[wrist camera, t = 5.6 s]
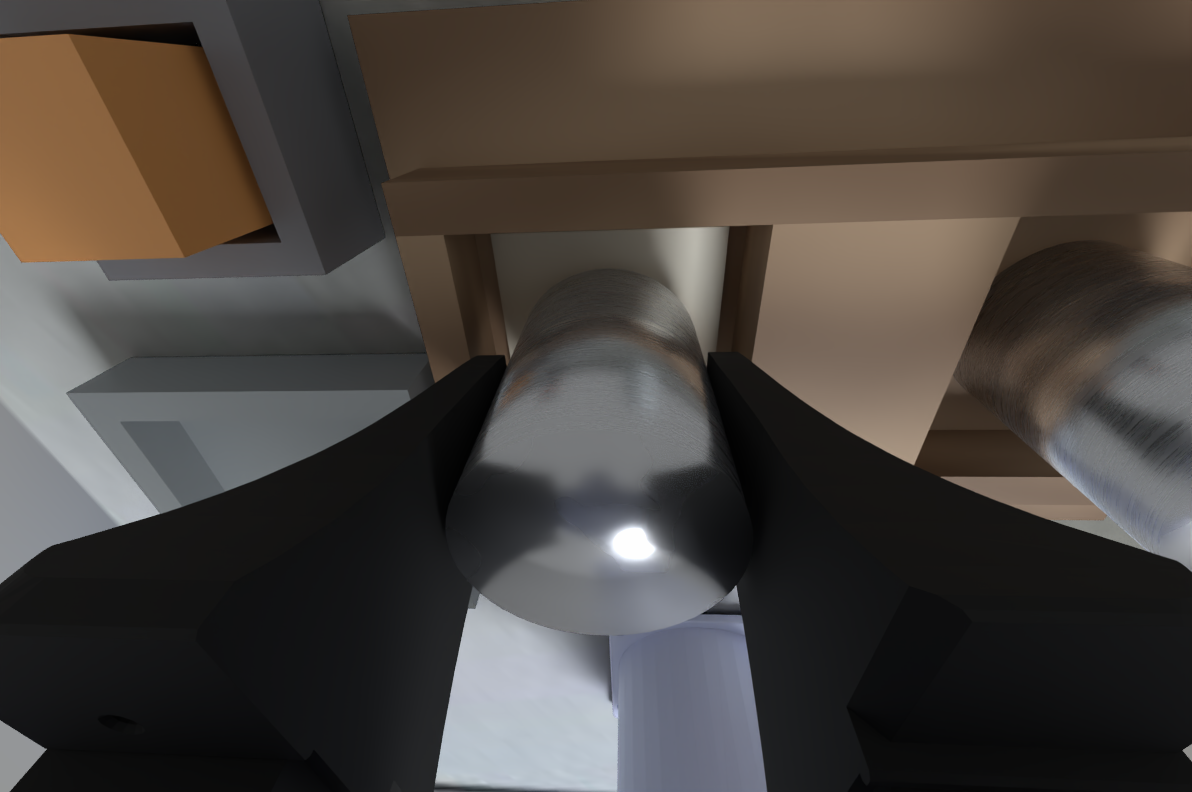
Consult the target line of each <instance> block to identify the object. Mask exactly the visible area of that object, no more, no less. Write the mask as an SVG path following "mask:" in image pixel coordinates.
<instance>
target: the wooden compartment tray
mask: <svg viewBox="0 0 1192 792" xmlns="http://www.w3.org/2000/svg"><path fill="white" fill-rule="evenodd" d="M347 17H348V20H349V24H350V28H351V32H352V36H353V40H354V44H355V47H356V51H357V55H358V59H359V63H360V67H361V71H362V74H363V78H364V82H365V86H366V90H367V94H368V98H369V101H370V105H371V109H372V113H373V117H374V121H375V125H376V128H377V132H378V136H379V140H380V144H381V148H382V152H383V155H384V159H385V163H386V167H387V171H388V175H389V178H390V180H388V181H385V182H383V183H381V185H382V189H383V192H384V196H385V200H386V203H387V207H388V211H389V215H390V218H391V222H392V226H393V229H394V233H395V237H396V241H397V244H398V248H399V252H400V255H401V259H402V263H403V266H404V270H405V274H406V278H407V281H408V285H409V289H410V292H411V296H412V300H413V304H414V307H415V311H416V315H417V318H418V322H419V326H420V330H421V333H422V337H423V341H424V344H425V348H426V352H427V355H428V359H429V363H430V367H431V370H432V374H433V378H434V381H435V383H436V382H437V381H439V380H440V379H442V378H443V377H445V376H446V375H448V374H449V373H450V372H452V371H453V370H455V369H456V368H458V367H459V366H461V365H462V364H464V363H465V362H467V361H468V360H470V359H471V358H473V357H475V356H477V355H505V359H506V365H507V366H508V363H509V361H510V359H511V356H512V354H513V351H514V349H515V347H516V344H517V342H518V340H519V337H520V335H521V333H522V330H523V328H524V325H525V323H526V321H527V318H528V316H529V314H530V312H531V310H532V309H533V307H534V306H535V304H536V303H537V301H538V300H539V299H540V298H541V297H542V296H543V294H545V293H546V292H547V291H548V290H549V289H550V288H551V287H553V286H554V285H556V284H557V283H559V282H560V281H562V280H564V279H566V278H568V277H570V276H572V275H575V274H578V273H581V272H584V271H589V270H594V269H606V268H612V269H623V270H628V271H633V272H637V273H640V274H643V275H645V276H648V277H650V278H652V279H654V280H656V281H658V282H659V283H661V284H662V285H664V286H665V287H667V288H668V289H669V290H670V291H671V292H672V293H673V294H675V295H676V296H677V298H678V299H679V300H680V301H681V302H682V304H683V305H684V306H685V308H686V310H687V311H688V313H689V314H690V317H691V319H692V321H693V324H694V327H695V330H696V334H697V337H698V340H699V344H700V347H701V351H702V354H703V358H704V361H705V364H706V368H707V358H708V352H739V353H740V354H742V355H743V356H745V357H746V358H747V359H749V360H750V361H751V362H753V363H754V364H755V365H756V366H758V367H759V368H760V369H762V370H763V371H764V372H765V373H767V374H768V375H769V376H770V377H772V378H773V379H774V380H776V381H777V382H778V383H779V384H781V385H782V386H783V387H785V388H786V389H787V390H789V391H790V392H791V393H793V394H794V395H795V396H797V397H798V398H800V399H801V400H802V401H804V402H805V403H807V404H808V405H810V406H811V407H812V408H814V409H815V410H817V411H818V412H820V413H822V414H823V415H825V416H826V417H828V418H829V419H831V420H832V421H834V422H835V423H837V424H838V425H840V426H842V427H843V428H845V429H847V430H848V431H850V432H852V433H853V434H855V435H857V436H859V437H861V438H862V439H864V440H866V441H868V442H870V443H872V444H873V445H875V446H877V447H879V448H881V449H883V450H884V451H886V452H888V453H890V454H892V455H894V456H896V457H898V458H900V459H902V460H904V461H906V462H908V463H910V464H912V465H914V466H917V467H919V468H921V469H923V470H926V471H928V472H930V473H932V474H934V475H937V476H939V477H941V478H943V479H946V480H948V481H950V482H952V483H954V484H957V485H959V486H962V487H964V488H967V489H969V490H971V491H974V492H976V493H979V494H981V495H984V496H986V497H989V498H991V499H994V500H996V501H999V502H1002V503H1005V504H1007V505H1010V506H1013V507H1015V508H1018V509H1021V510H1023V511H1026V512H1029V513H1031V514H1034V515H1037V516H1040V517H1042V518H1045V519H1048V520H1104V519H1105V517H1106V516H1107V515H1106V514H1105V513H1104V512H1103V511H1102V510H1100V509H1099V508H1098V507H1097V506H1096V505H1095V504H1094V503H1093V502H1091V501H1090V500H1089V499H1088V498H1087V497H1086V496H1085V495H1084V494H1082V493H1081V492H1080V491H1079V490H1078V489H1077V488H1076V487H1075V486H1073V485H1072V484H1071V483H1070V482H1069V481H1068V480H1067V479H1066V478H1064V477H1063V476H1062V475H1061V474H1060V473H1059V472H1058V471H1056V470H1055V469H1054V468H1053V467H1052V466H1051V465H1050V464H1049V463H1047V462H1046V461H1045V460H1044V459H1043V458H1042V457H1041V456H1040V455H1038V454H1037V453H1036V452H1035V451H1034V450H1033V449H1032V448H1031V447H1029V446H1028V445H1027V444H1026V443H1025V442H1024V441H1023V440H1022V439H1020V438H1019V437H1018V436H1017V435H1016V434H1015V433H1014V432H1012V431H1011V430H1010V429H1009V428H1008V427H1007V426H1006V425H1005V424H1003V423H1002V422H1001V421H1000V420H999V419H998V418H997V417H996V416H994V415H993V414H992V413H991V412H990V411H989V410H988V409H987V408H985V407H984V406H983V405H982V404H981V403H980V402H979V401H977V400H976V399H975V398H974V397H973V396H972V395H971V394H970V393H968V392H967V391H966V390H965V389H964V388H963V387H962V386H961V385H960V384H959V383H958V382H957V381H956V380H955V378H954V377H953V373H954V371H955V368H956V366H957V364H958V361H959V359H960V357H961V354H962V352H963V350H964V348H965V345H966V343H967V341H968V338H969V336H970V334H971V331H972V329H973V327H974V324H975V322H976V320H977V317H978V315H979V313H980V310H981V308H982V306H983V303H984V301H985V299H986V296H987V294H988V292H989V289H990V287H991V285H992V282H993V280H994V278H995V276H997V275H998V274H1000V273H1001V272H1002V271H1004V270H1005V269H1007V268H1008V267H1010V266H1011V265H1013V264H1015V263H1016V262H1018V261H1020V260H1022V259H1024V258H1026V257H1028V256H1030V255H1032V254H1034V253H1036V252H1039V251H1041V250H1044V249H1046V248H1050V247H1053V246H1056V245H1059V244H1064V243H1069V242H1074V241H1084V240H1101V241H1107V242H1113V243H1116V244H1119V245H1123V246H1126V247H1129V248H1132V249H1135V250H1138V251H1142V252H1145V253H1148V254H1151V255H1154V256H1157V257H1160V258H1164V259H1167V260H1170V261H1173V262H1176V263H1179V264H1183V265H1186V266H1189V267H1192V0H579V1H564V2H548V3H533V4H517V5H501V6H486V7H470V8H455V9H439V10H423V11H408V12H392V13H377V14H361V15H347Z"/></svg>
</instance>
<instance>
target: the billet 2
mask: <svg viewBox="0 0 1192 792" xmlns="http://www.w3.org/2000/svg"><path fill="white" fill-rule="evenodd" d="M953 377H954V378H955V380H956V381H957V382H958V383H959V384H960V385H961V386H962V387H963V388H964V389H965V390H966V391H967V392H968V393H970V394H971V395H972V396H973V397H974V398H975V399H976V400H977V401H979V402H980V403H981V404H982V405H983V406H984V407H985V408H987V409H988V410H989V411H990V412H991V413H992V414H993V415H994V416H996V417H997V418H998V419H999V420H1000V421H1001V422H1002V423H1003V424H1005V425H1006V426H1007V427H1008V428H1009V429H1010V430H1011V431H1012V432H1014V433H1015V434H1016V435H1017V436H1018V437H1019V438H1020V439H1022V440H1023V441H1024V442H1025V443H1026V444H1027V445H1028V446H1029V447H1031V448H1032V449H1033V450H1034V451H1035V452H1036V453H1037V454H1038V455H1040V456H1041V457H1042V458H1043V459H1044V460H1045V461H1046V462H1047V463H1049V464H1050V465H1051V466H1052V467H1053V468H1054V469H1055V470H1056V471H1058V472H1059V473H1060V474H1061V475H1062V476H1063V477H1064V478H1066V479H1067V480H1068V481H1069V482H1070V483H1071V484H1072V485H1073V486H1075V487H1076V488H1077V489H1078V490H1079V491H1080V492H1081V493H1082V494H1084V495H1085V496H1086V497H1087V498H1088V499H1089V500H1090V501H1091V502H1093V503H1094V504H1095V505H1096V506H1097V507H1098V508H1099V509H1100V510H1102V511H1103V512H1104V513H1105V514H1106V515H1107V516H1108V517H1110V518H1111V519H1112V520H1113V521H1114V522H1115V523H1116V524H1117V525H1119V526H1120V527H1121V528H1122V529H1123V530H1124V531H1125V532H1126V533H1128V534H1129V535H1130V536H1131V537H1132V538H1133V539H1134V540H1135V541H1137V542H1138V543H1139V544H1140V545H1141V546H1142V547H1143V548H1144V549H1146V550H1147V551H1148V552H1151V553H1154V554H1157V555H1160V556H1163V557H1167V558H1170V559H1173V560H1176V561H1178V562H1180V563H1181V564H1183V565H1184V566H1185V567H1187V568H1188V569H1189V570H1190V571H1191V572H1192V267H1189V266H1186V265H1183V264H1179V263H1176V262H1173V261H1170V260H1167V259H1164V258H1160V257H1157V256H1154V255H1151V254H1148V253H1145V252H1142V251H1138V250H1135V249H1132V248H1129V247H1126V246H1123V245H1119V244H1116V243H1113V242H1107V241H1101V240H1084V241H1074V242H1069V243H1064V244H1059V245H1056V246H1053V247H1050V248H1046V249H1044V250H1041V251H1039V252H1036V253H1034V254H1032V255H1030V256H1028V257H1026V258H1024V259H1022V260H1020V261H1018V262H1016V263H1015V264H1013V265H1011V266H1010V267H1008V268H1007V269H1005V270H1004V271H1002V272H1001V273H1000V274H998V275H997V276H995V278H994V280H993V282H992V285H991V287H990V289H989V292H988V294H987V296H986V299H985V301H984V303H983V306H982V308H981V310H980V313H979V315H978V317H977V320H976V322H975V324H974V327H973V329H972V331H971V334H970V336H969V338H968V341H967V343H966V345H965V348H964V350H963V352H962V354H961V357H960V359H959V361H958V364H957V366H956V368H955V371H954V373H953Z"/></svg>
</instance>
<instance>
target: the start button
mask: <svg viewBox="0 0 1192 792" xmlns="http://www.w3.org/2000/svg"><path fill="white" fill-rule="evenodd" d="M271 224H273V221H272V218H271V216H270V213H269V211H268V208H267V206H266V203H265V201H264V198H263V196H262V193H261V191H260V188H259V186H258V183H257V181H256V178H255V176H254V173H253V171H252V168H251V166H250V163H249V161H248V158H247V156H246V153H245V151H244V148H243V146H242V143H241V141H240V138H239V136H238V133H237V131H236V129H235V126H234V124H233V121H232V119H231V116H230V114H229V111H228V109H227V106H226V104H225V101H224V99H223V96H222V94H221V91H220V89H219V86H218V84H217V81H216V79H215V76H214V74H213V71H212V69H211V66H210V64H209V61H208V59H207V56H206V54H205V51H204V49H203V47H198V46H188V45H177V44H167V43H157V42H146V41H136V40H126V39H115V38H105V37H95V36H85V35H74V34H59V35H43V36H27V37H12V38H0V233H1V235H2V236H3V237H4V239H5V240H6V242H7V243H8V244H9V246H10V247H11V249H12V250H13V251H14V253H15V254H16V256H17V257H18V258H19V260H20V261H21V263H22V262H56V261H90V260H124V259H158V258H185V257H188V256H190V255H193V254H196V253H198V252H201V251H203V250H206V249H209V248H211V247H214V246H216V245H219V244H222V243H224V242H227V241H229V240H232V239H235V238H237V237H240V236H242V235H245V234H248V233H250V232H253V231H255V230H258V229H260V228H263V227H266V226H268V225H271Z"/></svg>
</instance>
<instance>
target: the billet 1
mask: <svg viewBox="0 0 1192 792" xmlns="http://www.w3.org/2000/svg"><path fill="white" fill-rule="evenodd" d="M445 532H446V538H447V544H448V547H449V550H450V553H451V555H452V558H453V560H454V561H455V563H456V565H457V567H458V569H459V570H460V571H461V573H462V574H463V575H464V577H465V578H466V579H467V581H468V582H469V583H470V584H471V585H472V586H473V587H474V588H475V589H476V590H477V591H478V592H480V593H481V594H482V595H483V596H485V597H486V598H487V599H488V600H490V601H491V602H493V603H494V604H496V605H497V606H499V607H501V608H502V609H504V610H506V611H508V612H510V613H512V614H514V615H516V616H518V617H520V618H522V619H525V620H527V621H530V622H532V623H535V624H538V625H542V626H545V627H548V628H552V629H556V630H561V631H565V632H571V633H578V634H587V635H607V636H616V635H631V634H638V633H645V632H651V631H655V630H660V629H664V628H667V627H671V626H674V625H677V624H680V623H682V622H685V621H687V620H689V619H692V618H694V617H696V616H698V615H700V614H701V613H703V612H705V611H707V610H709V609H710V608H711V607H713V606H714V605H716V604H717V603H718V602H720V601H721V600H722V599H723V598H724V597H725V596H726V595H728V594H729V593H730V592H731V591H732V589H733V588H734V587H735V586H736V585H737V583H738V582H739V581H740V579H741V578H742V576H743V574H744V572H745V571H746V569H747V566H748V564H749V561H750V558H751V555H752V549H753V527H752V523H751V519H750V515H749V512H748V508H747V505H746V501H745V498H744V494H743V491H742V488H741V484H740V481H739V477H738V474H737V471H736V467H735V464H734V460H733V457H732V453H731V450H730V447H729V443H728V440H727V436H726V433H725V429H724V426H723V423H722V419H721V416H720V412H719V409H718V405H717V402H716V399H715V395H714V392H713V388H712V385H711V382H710V378H709V375H708V371H707V368H706V364H705V361H704V358H703V354H702V351H701V347H700V344H699V340H698V337H697V334H696V330H695V327H694V324H693V321H692V319H691V317H690V314H689V313H688V311H687V310H686V308H685V306H684V305H683V304H682V302H681V301H680V300H679V299H678V298H677V296H676V295H675V294H673V293H672V292H671V291H670V290H669V289H668V288H667V287H665V286H664V285H662V284H661V283H659V282H658V281H656V280H654V279H652V278H650V277H648V276H645V275H643V274H640V273H637V272H633V271H628V270H623V269H612V268H606V269H594V270H589V271H584V272H581V273H578V274H575V275H572V276H570V277H568V278H566V279H564V280H562V281H560V282H559V283H557V284H556V285H554V286H553V287H551V288H550V289H549V290H548V291H547V292H546V293H545V294H543V296H542V297H541V298H540V299H539V300H538V301H537V303H536V304H535V306H534V307H533V309H532V310H531V312H530V314H529V316H528V318H527V321H526V323H525V325H524V328H523V330H522V333H521V335H520V337H519V340H518V342H517V344H516V347H515V349H514V351H513V354H512V356H511V359H510V361H509V363H508V366H507V368H506V370H505V373H504V375H503V378H502V380H501V382H500V385H499V387H498V389H497V392H496V394H495V396H494V399H493V401H492V404H491V406H490V408H489V411H488V413H487V415H486V418H485V420H484V422H483V425H482V427H481V430H480V432H479V434H478V437H477V439H476V441H475V444H474V446H473V449H472V451H471V453H470V456H469V458H468V460H467V463H466V465H465V467H464V470H463V472H462V475H461V477H460V479H459V482H458V484H457V486H456V489H455V491H454V493H453V496H452V498H451V501H450V503H449V506H448V510H447V515H446V529H445Z"/></svg>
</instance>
